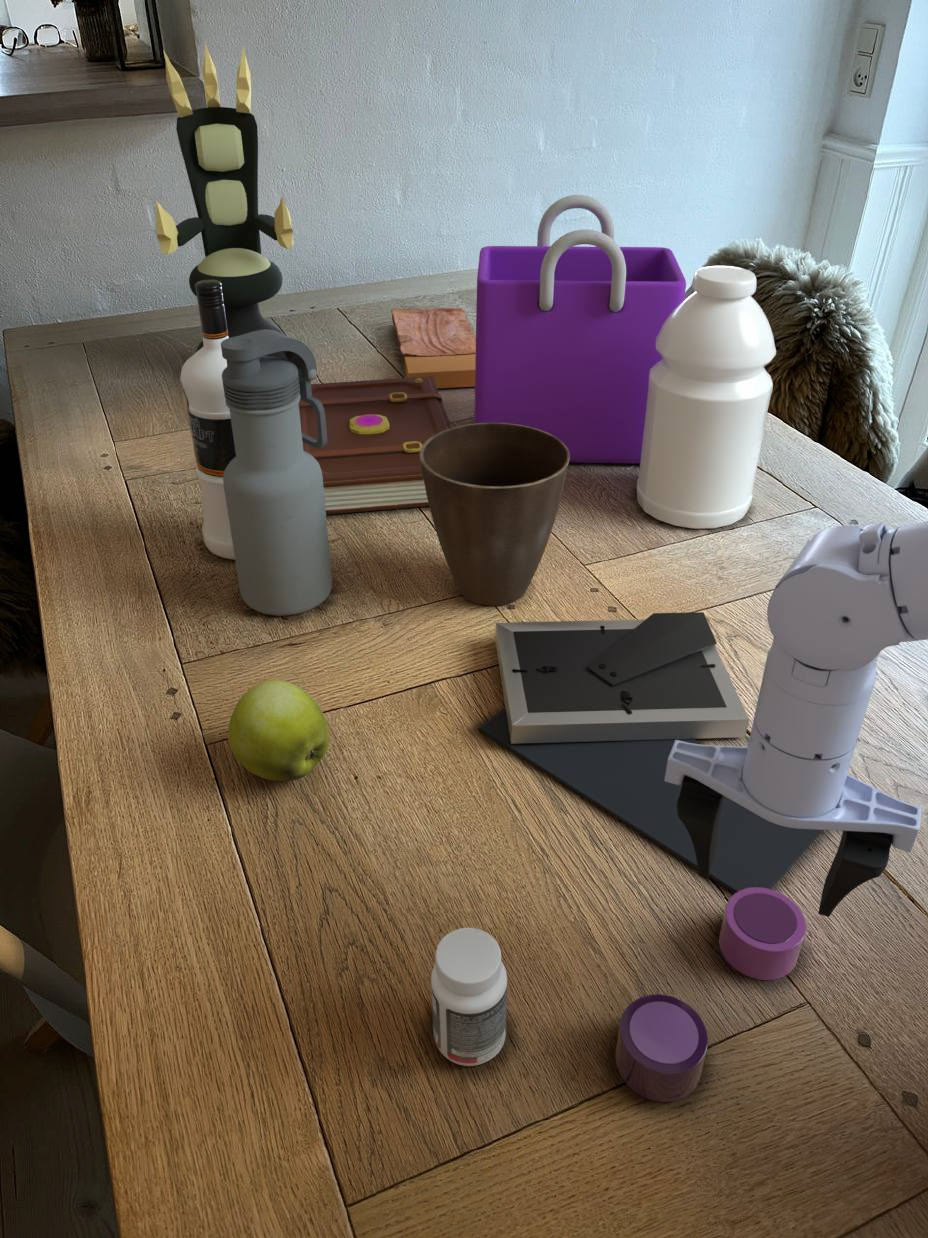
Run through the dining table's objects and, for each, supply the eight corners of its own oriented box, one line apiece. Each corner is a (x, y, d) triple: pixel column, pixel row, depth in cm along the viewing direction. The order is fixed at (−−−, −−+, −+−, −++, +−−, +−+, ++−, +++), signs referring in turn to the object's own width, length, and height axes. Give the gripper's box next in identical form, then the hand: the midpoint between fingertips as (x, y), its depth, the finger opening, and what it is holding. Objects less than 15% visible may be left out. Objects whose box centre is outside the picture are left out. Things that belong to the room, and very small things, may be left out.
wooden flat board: (406, 391, 153) (405, 371, 151) (391, 326, 177) (390, 307, 175) (490, 387, 154) (491, 366, 153) (464, 322, 179) (464, 304, 177)
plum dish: (811, 946, 71) (821, 916, 69) (772, 995, 68) (781, 965, 66) (744, 903, 74) (751, 874, 72) (704, 948, 71) (710, 918, 69)
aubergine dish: (717, 1060, 64) (725, 1030, 62) (669, 1120, 61) (675, 1091, 59) (648, 1008, 67) (653, 978, 65) (598, 1062, 64) (602, 1032, 62)
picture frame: (699, 635, 101) (494, 639, 100) (703, 612, 100) (495, 616, 99) (745, 737, 88) (510, 744, 87) (750, 712, 87) (512, 718, 85)
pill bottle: (520, 1032, 65) (524, 952, 61) (471, 1083, 63) (471, 1003, 58) (467, 989, 68) (467, 909, 63) (418, 1036, 65) (414, 955, 60)
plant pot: (406, 564, 112) (400, 433, 103) (528, 541, 117) (533, 412, 107) (450, 639, 101) (448, 498, 92) (584, 610, 105) (595, 472, 96)
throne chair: (183, 396, 152) (124, 57, 126) (186, 346, 169) (135, 39, 144) (308, 386, 155) (276, 53, 129) (298, 338, 173) (268, 36, 147)
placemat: (833, 819, 81) (834, 816, 81) (755, 906, 74) (756, 903, 73) (564, 670, 97) (564, 667, 96) (478, 730, 90) (478, 727, 89)
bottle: (671, 540, 117) (704, 299, 101) (614, 488, 127) (636, 262, 111) (773, 518, 121) (820, 283, 105) (709, 469, 131) (743, 250, 115)
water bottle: (299, 558, 114) (271, 312, 98) (354, 591, 108) (334, 337, 92) (223, 593, 108) (180, 338, 92) (276, 630, 102) (241, 365, 86)
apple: (280, 720, 91) (270, 649, 86) (352, 764, 86) (345, 692, 81) (212, 766, 86) (197, 694, 81) (284, 816, 81) (273, 742, 77)
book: (434, 403, 149) (433, 370, 146) (470, 503, 124) (470, 467, 121) (280, 413, 146) (276, 381, 143) (284, 519, 121) (280, 482, 118)
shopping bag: (482, 481, 129) (483, 239, 112) (456, 413, 147) (454, 195, 129) (691, 465, 133) (724, 228, 115) (641, 400, 150) (664, 186, 133)
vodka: (281, 562, 113) (247, 295, 96) (198, 564, 113) (149, 296, 95) (289, 521, 120) (260, 267, 103) (212, 523, 120) (169, 268, 103)
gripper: (944, 717, 58) (887, 875, 66) (695, 656, 63) (670, 810, 70) (938, 798, 53) (877, 959, 60) (667, 725, 57) (643, 883, 65)
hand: (764, 884), depth 65 cm, fingers open, 7 cm apart
